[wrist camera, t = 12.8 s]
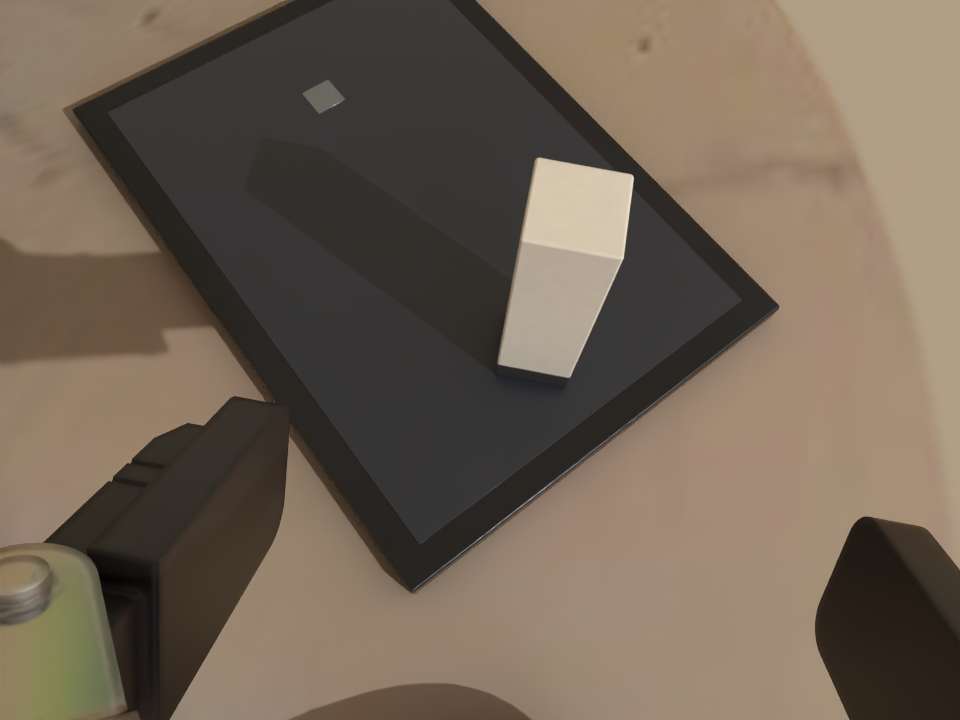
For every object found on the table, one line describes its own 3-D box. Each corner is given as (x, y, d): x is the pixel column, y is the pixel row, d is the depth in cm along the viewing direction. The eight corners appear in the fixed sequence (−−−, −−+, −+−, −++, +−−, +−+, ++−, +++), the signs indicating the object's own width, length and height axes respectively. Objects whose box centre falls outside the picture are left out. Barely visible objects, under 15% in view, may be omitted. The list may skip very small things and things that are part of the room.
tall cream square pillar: (495, 374, 25) (519, 240, 17) (507, 310, 25) (535, 155, 18) (566, 387, 24) (623, 259, 17) (575, 323, 25) (634, 173, 18)
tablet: (80, 123, 29) (69, 107, 28) (417, -44, 33) (416, -63, 32) (412, 595, 23) (411, 593, 22) (771, 316, 27) (782, 304, 26)
